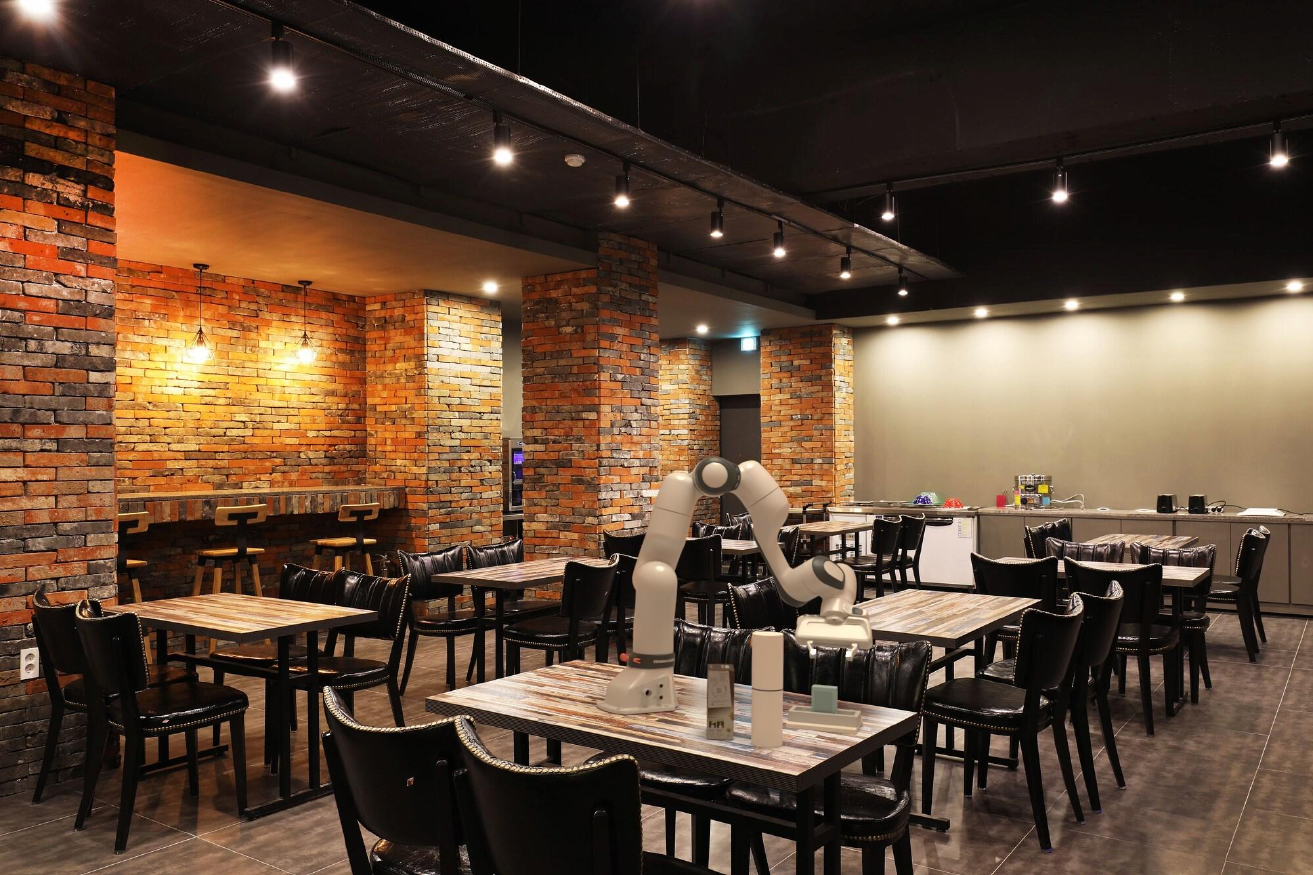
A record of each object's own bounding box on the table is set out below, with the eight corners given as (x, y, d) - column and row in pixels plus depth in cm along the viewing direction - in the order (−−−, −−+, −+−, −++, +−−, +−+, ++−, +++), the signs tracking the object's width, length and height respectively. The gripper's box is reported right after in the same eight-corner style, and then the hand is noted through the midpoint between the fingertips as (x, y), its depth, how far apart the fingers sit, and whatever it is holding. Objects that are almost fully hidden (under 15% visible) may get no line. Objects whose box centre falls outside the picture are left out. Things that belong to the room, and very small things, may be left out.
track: (855, 734, 227) (855, 719, 227) (785, 727, 233) (785, 713, 233) (862, 722, 239) (862, 708, 240) (795, 716, 245) (795, 703, 245)
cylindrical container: (747, 745, 215) (748, 634, 216) (755, 738, 221) (756, 630, 223) (778, 749, 212) (779, 636, 214) (785, 741, 219) (786, 632, 220)
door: (835, 723, 234) (835, 688, 234) (811, 721, 236) (811, 686, 236) (837, 720, 237) (837, 686, 237) (813, 718, 239) (813, 684, 239)
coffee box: (734, 740, 219) (735, 670, 220) (706, 739, 220) (707, 669, 221) (732, 730, 228) (733, 663, 230) (705, 730, 229) (706, 663, 230)
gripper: (796, 606, 257) (789, 648, 247) (873, 610, 250) (869, 653, 240) (799, 621, 261) (792, 662, 251) (875, 625, 254) (871, 668, 244)
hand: (830, 658), depth 246 cm, fingers open, 8 cm apart
